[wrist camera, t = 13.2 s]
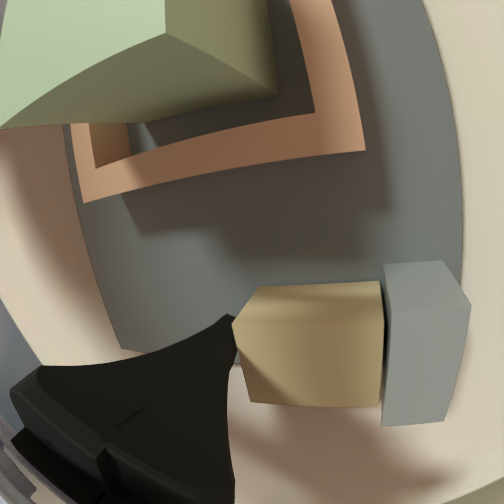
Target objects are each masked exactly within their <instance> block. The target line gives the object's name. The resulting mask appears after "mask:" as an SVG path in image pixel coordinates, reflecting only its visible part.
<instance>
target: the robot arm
mask: <svg viewBox="0 0 504 504" xmlns="http://www.w3.org/2000/svg"><path fill="white" fill-rule="evenodd" d="M6 5H7V0H0V38H1V31H2V25H3V20H4V14H5V10H6ZM235 319H236V317H234V316H232V315H229V314H227V313H226V314H225V315H224V316H222V317H221V318H220V319H219V320H218V321H216V322H215V323H214V324H213V325H211V326H209V327H207V328H205V329H204V330H202V331H200V332H198V333H196V334H194V335H192V336H190V337H188V338H186V339H184V340H181V341H179V342H177V343H174V344H172V345H170V346H167V347H165V348H162V349H159V350H157V351H154V352H151V353H148V354H144V355H141V356H137V357H133V358H129V359H125V360H120V361H115V362H110V363H102V364H94V365H82V366H45V365H41V366H40V367H38V368H37V369H35V370H34V371H32V372H31V373H30V374H28V375H27V376H26V377H25V378H23V379H22V380H21V381H20V382H18V383H17V384H16V385H14V386H13V387H12V388H11V389H10V398H11V400H12V403H13V405H14V407H15V409H16V411H17V413H18V415H19V416H20V418H21V420H22V422H23V424H24V426H25V427H24V428H23V429H22V430H21V431H20V432H19V433H18V434H17V433H16V432H15V431H14V430H13V429H12V428H11V427H10V426H9V425H8V423H6V421H5V420H4V419H3V418H2V417H1V416H0V504H36V503H35V502H34V501H32V500H31V498H30V497H31V495H32V494H33V493H34V492H35V491H36V487H35V486H34V485H33V484H32V483H31V482H30V481H29V480H28V479H27V478H26V477H25V476H24V474H23V473H22V472H21V471H20V470H19V469H18V467H17V466H16V465H15V463H14V462H13V461H12V460H11V459H10V458H9V457H8V456H7V454H6V453H5V452H4V451H3V449H4V446H5V447H6V448H7V449H8V450H9V451H10V452H11V453H12V455H13V456H14V457H15V458H16V459H17V460H18V461H19V462H20V463H21V464H22V465H23V466H24V467H25V468H26V469H27V470H28V471H29V472H31V474H33V475H34V476H35V477H36V478H37V479H38V480H39V481H40V482H41V483H42V484H43V485H44V486H46V487H47V488H48V489H49V490H50V491H51V492H53V493H54V494H55V495H56V496H58V497H59V498H60V499H61V500H62V501H64V502H65V503H66V504H234V502H235V478H234V473H233V468H232V462H231V455H230V448H229V439H228V423H227V391H228V379H229V371H230V369H231V367H232V366H233V364H234V361H235V358H236V354H237V351H238V349H237V345H236V341H235V337H234V332H233V328H232V323H233V321H234V320H235ZM3 445H4V446H3Z"/></svg>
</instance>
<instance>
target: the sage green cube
mask: <svg viewBox="0 0 504 504" xmlns="http://www.w3.org/2000/svg"><path fill="white" fill-rule="evenodd" d="M271 97H279V87H278V79H277V71H276V63H275V55H274V48H273V40H272V33H271V26H270V19H269V12H268V6H267V0H7V5H6V10H5V14H4V20H3V25H2V31H1V38H0V130H1V129H9V128H18V127H28V126H40V125H54V124H74V123H147V122H151V121H154V120H158V119H162V118H166V117H170V116H174V115H178V114H182V113H187V112H191V111H196V110H200V109H205V108H210V107H215V106H220V105H226V104H231V103H237V102H243V101H250V100H256V99H263V98H271Z"/></svg>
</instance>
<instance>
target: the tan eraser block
mask: <svg viewBox="0 0 504 504" xmlns="http://www.w3.org/2000/svg"><path fill="white" fill-rule="evenodd" d="M232 328H233V332H234V337H235V341H236V345H237V349H238V353H239V358H240V362H241V366H242V370H243V374H244V378H245V382H246V386H247V390H248V394H249V398H250V401H251V402H257V403H267V404H279V405H293V406H314V407H378V402H379V393H380V382H381V370H382V356H383V337H384V317H383V308H382V299H381V291H380V283H379V281H367V282H349V283H329V284H307V285H282V286H259V287H258V288H257V290H256V291H255V292H254V294H253V295H252V297H251V298H250V299H249V301H248V302H247V303H246V305H245V306H244V308H243V309H242V310H241V312H240V313H239V314H238V316H237V317H236V319H235V320H234V321H233V323H232Z"/></svg>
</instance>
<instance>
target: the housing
mask: <svg viewBox="0 0 504 504" xmlns="http://www.w3.org/2000/svg"><path fill="white" fill-rule="evenodd" d="M267 6H268V12H269V19H270V26H271V33H272V40H273V48H274V55H275V63H276V71H277V79H278V87H279V97H271V98H263V99H256V100H250V101H243V102H237V103H231V104H226V105H220V106H215V107H210V108H205V109H200V110H196V111H191V112H187V113H182V114H178V115H174V116H170V117H166V118H162V119H158V120H154V121H151V122H147V123H74V124H63V132H64V139H65V147H66V153H67V160H68V166H69V172H70V177H71V183H72V188H73V193H74V198H75V202H76V207H77V211H78V216H79V220H80V224H81V228H82V232H83V236H84V240H85V243H86V247H87V251H88V254H89V258H90V261H91V265H92V268H93V271H94V274H95V278H96V281H97V284H98V287H99V290H100V293H101V296H102V299H103V302H104V305H105V307H106V310H107V313H108V316H109V318H110V321H111V324H112V326H113V329H114V332H115V334H116V337H117V339H118V342H119V344H120V347H121V348H122V349H128V350H134V351H139V352H146V353H151V352H154V351H157V350H159V349H162V348H165V347H167V346H170V345H172V344H174V343H177V342H179V341H181V340H184V339H186V338H188V337H190V336H192V335H194V334H196V333H198V332H200V331H202V330H204V329H205V328H207V327H209V326H211V325H213V324H214V323H215V322H216V321H218V320H219V319H220V318H221V317H222V316H224V315H225V314H226V313H227V314H229V315H232V316H234V317H237V316H238V314H239V313H240V312H241V310H242V309H243V308H244V306H245V305H246V303H247V302H248V301H249V299H250V298H251V297H252V295H253V294H254V292H255V291H256V290H257V288H258V287H259V286H282V285H307V284H329V283H349V282H367V281H379V283H380V291H381V299H382V308H383V317H384V337H383V356H382V370H381V380H382V409H381V426H399V425H412V424H423V423H433V422H441V421H444V419H445V416H446V413H447V410H448V407H449V404H450V400H451V397H452V394H453V390H454V387H455V383H456V379H457V376H458V372H459V368H460V363H461V359H462V355H463V350H464V345H465V340H466V335H467V330H468V324H469V318H470V312H471V303H470V302H469V300H468V298H467V297H466V295H465V294H464V292H463V290H462V289H461V287H460V278H461V264H462V237H463V214H462V187H461V173H460V161H459V152H458V144H457V136H456V129H455V123H454V117H453V111H452V105H451V100H450V95H449V91H448V86H447V82H446V77H445V73H444V69H443V65H442V62H441V58H440V54H439V51H438V47H437V44H436V41H435V38H434V35H433V31H432V28H431V26H430V23H429V20H428V17H427V14H426V12H425V9H424V6H423V4H422V1H421V0H267ZM234 363H239V364H241V362H240V358H239V353H238V351H237V354H236V358H235V361H234Z"/></svg>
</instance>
